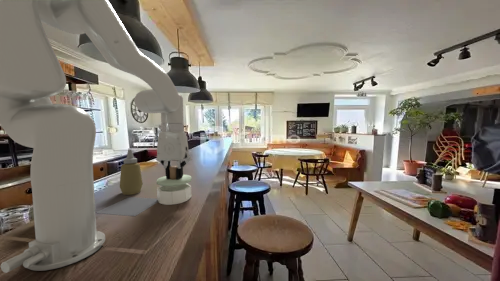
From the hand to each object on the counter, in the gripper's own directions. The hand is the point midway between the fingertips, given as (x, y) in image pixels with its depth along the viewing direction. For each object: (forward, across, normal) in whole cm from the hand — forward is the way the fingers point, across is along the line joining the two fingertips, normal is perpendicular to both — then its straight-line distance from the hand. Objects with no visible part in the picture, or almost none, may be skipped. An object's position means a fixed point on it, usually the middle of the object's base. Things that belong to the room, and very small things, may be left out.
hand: (174, 178), depth 72 cm
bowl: (+8, 0, 0) cm, 8 cm away
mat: (+8, -11, -8) cm, 16 cm away
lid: (+1, 0, 0) cm, 1 cm away
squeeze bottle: (+9, -21, +4) cm, 23 cm away
